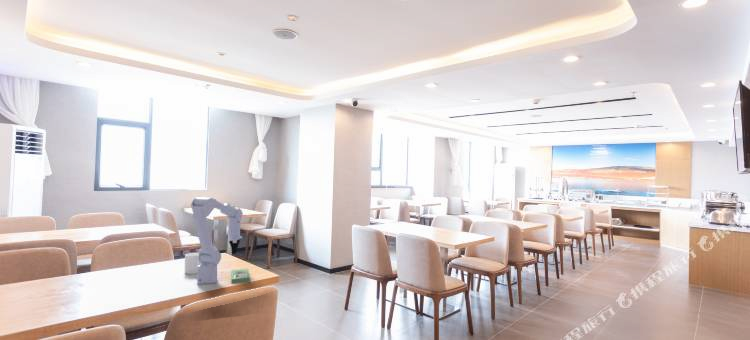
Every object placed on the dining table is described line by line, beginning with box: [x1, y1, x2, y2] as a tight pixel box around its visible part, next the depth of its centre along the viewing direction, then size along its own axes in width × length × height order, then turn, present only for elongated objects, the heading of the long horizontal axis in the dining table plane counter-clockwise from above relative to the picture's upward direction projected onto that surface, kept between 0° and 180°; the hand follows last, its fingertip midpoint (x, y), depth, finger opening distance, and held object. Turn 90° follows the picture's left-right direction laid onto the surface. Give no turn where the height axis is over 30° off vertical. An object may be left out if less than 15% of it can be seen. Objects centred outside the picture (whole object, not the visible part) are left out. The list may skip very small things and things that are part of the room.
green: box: [230, 268, 251, 284], centre depth 201 cm, size 9×18×2 cm, turn 21°
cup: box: [184, 252, 202, 275], centre depth 210 cm, size 8×12×10 cm
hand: (234, 253), depth 211 cm, fingers closed
